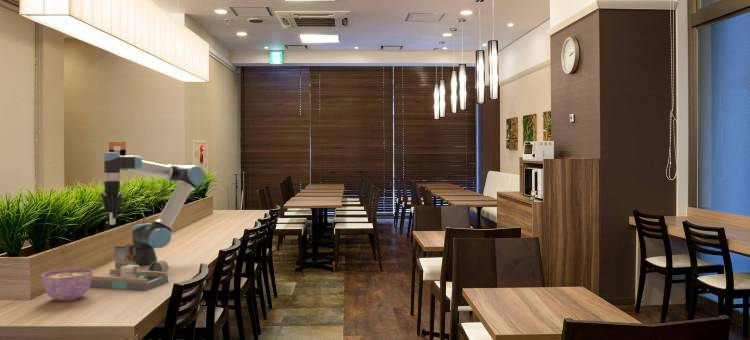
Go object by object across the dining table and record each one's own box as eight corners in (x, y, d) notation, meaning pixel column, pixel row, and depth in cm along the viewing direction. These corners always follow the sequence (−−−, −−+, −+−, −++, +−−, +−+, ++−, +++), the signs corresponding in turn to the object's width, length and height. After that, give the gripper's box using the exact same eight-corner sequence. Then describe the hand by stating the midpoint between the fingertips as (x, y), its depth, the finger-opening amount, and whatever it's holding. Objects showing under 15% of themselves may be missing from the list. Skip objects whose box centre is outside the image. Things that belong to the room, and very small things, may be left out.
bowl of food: (60, 292, 244) (60, 267, 243) (102, 293, 243) (102, 268, 243) (30, 304, 224) (30, 277, 223) (77, 305, 223) (76, 278, 223)
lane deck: (113, 278, 272) (112, 268, 272) (168, 281, 265) (167, 271, 265) (86, 286, 255) (86, 276, 254) (145, 290, 248) (144, 280, 247)
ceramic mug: (169, 273, 284) (169, 259, 283) (162, 276, 275) (161, 262, 275) (151, 273, 285) (150, 259, 285) (142, 276, 277) (142, 262, 276)
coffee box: (126, 273, 282) (126, 243, 282) (136, 274, 281) (136, 244, 281) (114, 277, 273) (114, 246, 273) (125, 278, 272) (125, 247, 272)
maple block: (129, 276, 263) (129, 264, 263) (139, 277, 262) (139, 265, 261) (120, 279, 257) (120, 267, 257) (131, 280, 256) (131, 267, 255)
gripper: (96, 180, 280) (97, 224, 281) (117, 181, 277) (118, 225, 278) (106, 180, 287) (107, 223, 288) (127, 180, 284) (127, 223, 285)
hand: (112, 224), depth 283 cm, fingers closed
